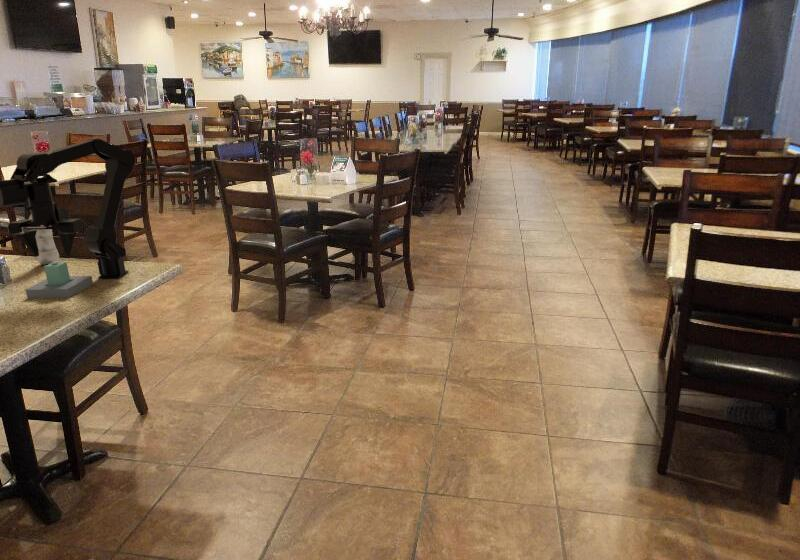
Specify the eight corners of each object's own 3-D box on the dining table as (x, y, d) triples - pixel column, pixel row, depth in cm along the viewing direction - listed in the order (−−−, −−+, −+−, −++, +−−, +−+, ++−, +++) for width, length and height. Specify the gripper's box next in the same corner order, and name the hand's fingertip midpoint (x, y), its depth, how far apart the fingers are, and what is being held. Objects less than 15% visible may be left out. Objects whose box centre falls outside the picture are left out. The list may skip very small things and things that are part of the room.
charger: (72, 288, 168) (65, 260, 165) (63, 293, 164) (57, 264, 161) (58, 288, 168) (52, 260, 165) (50, 293, 164) (43, 264, 162)
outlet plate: (93, 283, 171) (91, 275, 170) (68, 297, 160) (66, 289, 159) (54, 284, 172) (52, 276, 171) (27, 298, 161) (25, 289, 160)
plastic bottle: (65, 261, 197) (52, 202, 191) (51, 266, 190) (38, 206, 184) (47, 261, 197) (34, 203, 191) (33, 266, 191) (19, 207, 185)
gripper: (90, 195, 165) (100, 248, 170) (27, 196, 166) (39, 249, 171) (66, 202, 154) (78, 258, 159) (0, 203, 155) (13, 259, 160)
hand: (52, 256), depth 163 cm, fingers open, 9 cm apart
